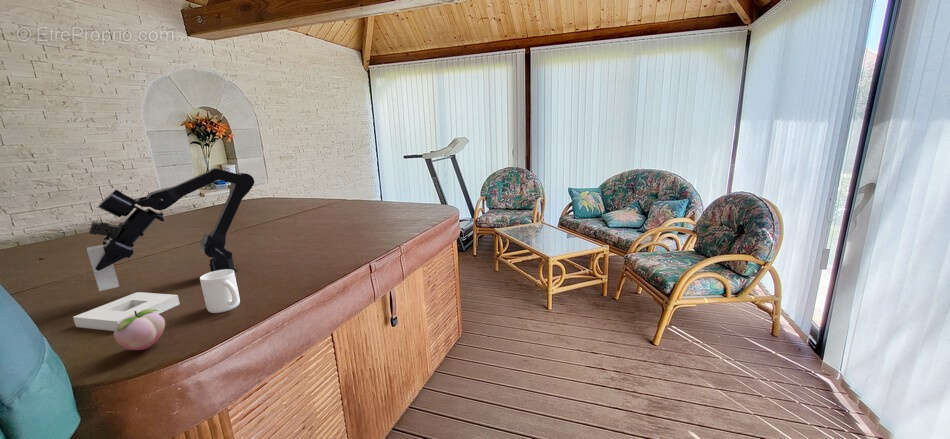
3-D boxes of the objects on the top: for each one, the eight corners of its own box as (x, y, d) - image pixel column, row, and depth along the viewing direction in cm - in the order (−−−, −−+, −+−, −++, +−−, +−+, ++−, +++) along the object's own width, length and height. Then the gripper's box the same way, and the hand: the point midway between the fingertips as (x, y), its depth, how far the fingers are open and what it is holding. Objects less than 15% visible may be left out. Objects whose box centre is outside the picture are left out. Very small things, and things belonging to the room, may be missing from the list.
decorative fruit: (142, 339, 92) (132, 303, 90) (176, 337, 93) (167, 301, 91) (108, 362, 83) (96, 322, 81) (146, 359, 84) (134, 319, 81)
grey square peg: (118, 283, 117) (107, 243, 114) (119, 286, 114) (107, 246, 111) (99, 287, 114) (86, 247, 111) (99, 291, 111) (86, 250, 108)
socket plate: (139, 300, 116) (137, 292, 115) (179, 304, 112) (177, 295, 111) (76, 326, 101) (72, 316, 100) (120, 331, 97) (117, 321, 96)
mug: (253, 306, 108) (246, 273, 106) (223, 319, 102) (215, 284, 99) (231, 298, 114) (225, 267, 112) (201, 310, 108) (193, 277, 105)
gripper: (104, 207, 118) (64, 249, 113) (106, 214, 105) (61, 262, 100) (143, 226, 125) (107, 266, 120) (149, 235, 112) (110, 280, 107)
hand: (96, 268), depth 112 cm, fingers closed on grey square peg, 4 cm apart
